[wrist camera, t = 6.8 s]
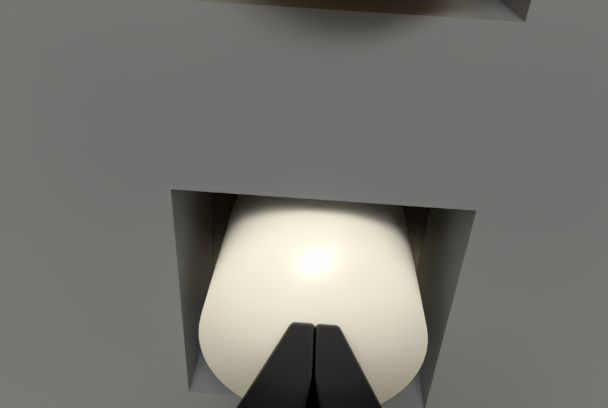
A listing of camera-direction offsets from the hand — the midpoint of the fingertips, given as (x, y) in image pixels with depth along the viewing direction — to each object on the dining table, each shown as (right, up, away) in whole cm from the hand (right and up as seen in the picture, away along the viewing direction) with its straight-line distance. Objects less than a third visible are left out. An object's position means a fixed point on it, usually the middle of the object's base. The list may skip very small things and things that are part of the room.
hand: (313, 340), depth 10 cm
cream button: (0, +2, +3) cm, 3 cm away
